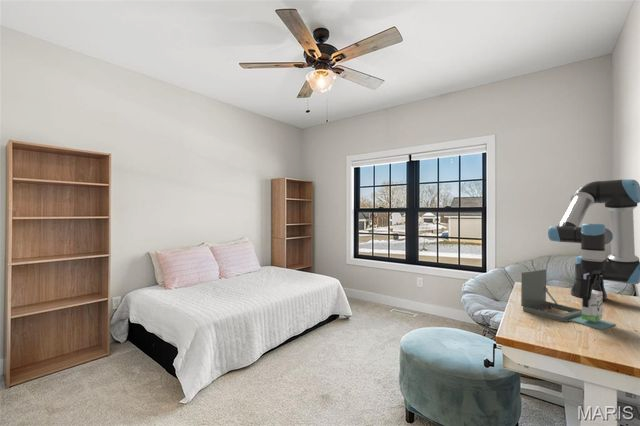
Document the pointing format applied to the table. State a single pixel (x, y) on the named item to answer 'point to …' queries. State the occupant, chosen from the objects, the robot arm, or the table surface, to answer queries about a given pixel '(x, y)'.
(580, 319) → the mat
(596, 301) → the ink box
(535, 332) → the table surface
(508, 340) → the table surface
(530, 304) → the case
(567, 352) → the table surface
